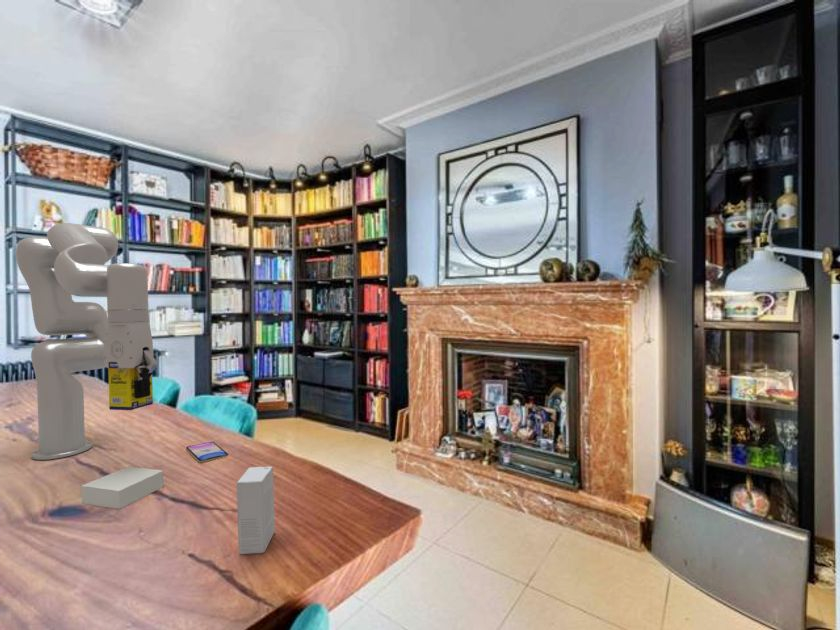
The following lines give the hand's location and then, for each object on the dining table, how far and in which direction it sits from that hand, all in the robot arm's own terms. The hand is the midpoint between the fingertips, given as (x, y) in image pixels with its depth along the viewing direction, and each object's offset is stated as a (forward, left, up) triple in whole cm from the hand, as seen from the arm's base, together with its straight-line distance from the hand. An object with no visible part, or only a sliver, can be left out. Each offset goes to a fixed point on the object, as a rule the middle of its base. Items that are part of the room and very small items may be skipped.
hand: (131, 395), depth 90 cm
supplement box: (0, 0, -3) cm, 3 cm away
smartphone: (0, +20, -21) cm, 28 cm away
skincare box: (+44, -10, -20) cm, 50 cm away
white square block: (+4, -5, -21) cm, 21 cm away
